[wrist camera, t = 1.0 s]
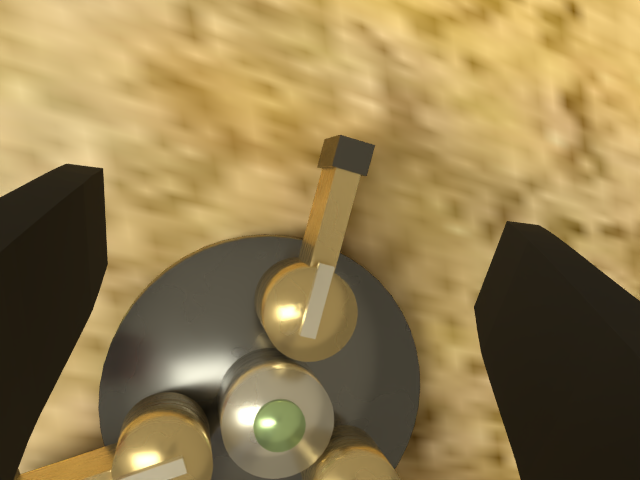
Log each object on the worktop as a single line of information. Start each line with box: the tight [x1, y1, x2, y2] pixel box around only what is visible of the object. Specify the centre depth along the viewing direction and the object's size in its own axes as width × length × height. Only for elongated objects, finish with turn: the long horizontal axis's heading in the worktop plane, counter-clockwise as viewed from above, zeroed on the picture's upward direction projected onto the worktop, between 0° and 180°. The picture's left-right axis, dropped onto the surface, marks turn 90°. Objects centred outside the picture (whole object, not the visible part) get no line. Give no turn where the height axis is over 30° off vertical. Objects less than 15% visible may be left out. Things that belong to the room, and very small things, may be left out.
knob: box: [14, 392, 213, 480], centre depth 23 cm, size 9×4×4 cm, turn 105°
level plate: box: [99, 234, 420, 480], centre depth 26 cm, size 14×14×4 cm
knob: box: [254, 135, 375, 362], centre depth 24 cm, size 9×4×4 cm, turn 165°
